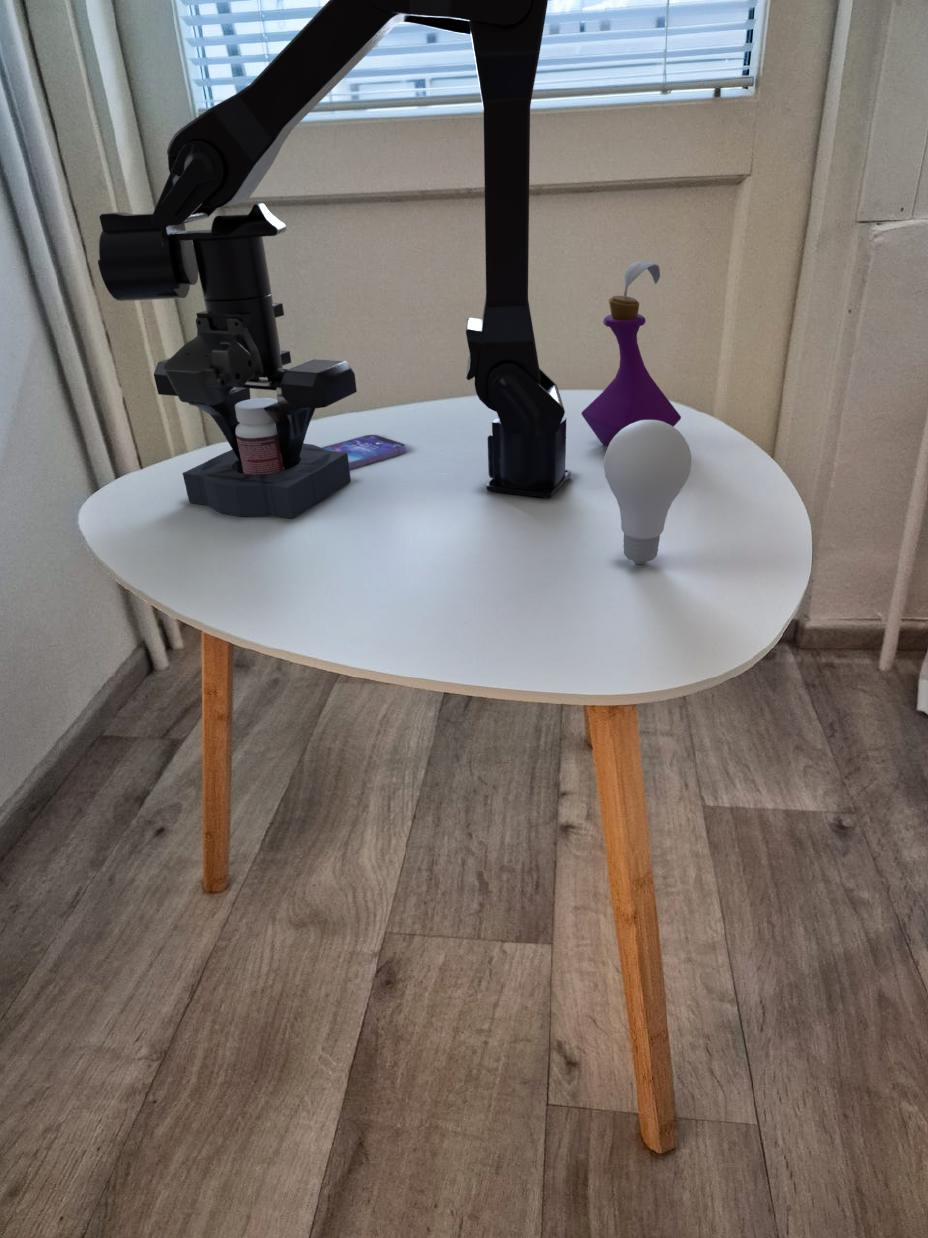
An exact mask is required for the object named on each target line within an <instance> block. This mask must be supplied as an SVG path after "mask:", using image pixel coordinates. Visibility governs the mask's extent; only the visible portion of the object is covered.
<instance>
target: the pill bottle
mask: <svg viewBox="0 0 928 1238" xmlns="http://www.w3.org/2000/svg"><path fill="white" fill-rule="evenodd" d="M276 402H278V401H277V398H274V397H273V398H272V397H257V398H256V397H255V398H250V399H249V400H245V401H241V402H239V403H237V404H236V405H235V411H236V418H237V421H238V422H240V424H238V425H237V427H236V438H237V442H238V447H239V452H240V457H241V463H242V468H243V473H244V474H250V475H256V474H269V473H276V472H280V471H283V470H285V467H284V464H283V461H282V456H281V451H280V445H279V440H278V434H277V429H276V424H275V421H274V420H273V419H272V417H271V416H270V415H269V414H268V413H267V412H266V411H265V410H264V408H265V407H267V406H269V405H271V404H274V403H276Z"/></svg>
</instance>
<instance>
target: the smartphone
mask: <svg viewBox="0 0 928 1238" xmlns="http://www.w3.org/2000/svg"><path fill="white" fill-rule="evenodd" d="M321 448H323V449H326V450H329V451H337V452H346V453H348V462H349V470H352V469H355V468H359V467H363V466H366V465H369V464H372V463H376V462H380V461H384V460H386V459H390V458H393V457H396V456H399V455H403V454H405V453H406V452H407V444H405V443H404V442H400V441H397V440H394V439H390V438H388V437H385V436H382V435H379V434H367V435H366V434H365V435H362V436H358V437H355V438H351V439H347V440H343V441H339V442H337V443H333V444H329V445H327V446H321Z"/></svg>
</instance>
